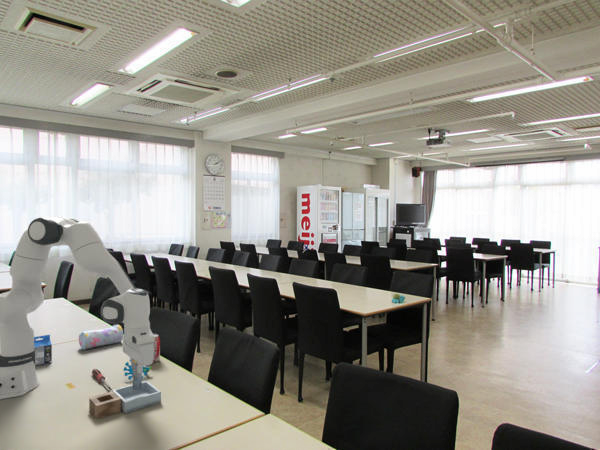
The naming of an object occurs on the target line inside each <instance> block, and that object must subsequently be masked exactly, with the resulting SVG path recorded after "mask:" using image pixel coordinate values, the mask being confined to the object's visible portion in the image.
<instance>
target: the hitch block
mask: <svg viewBox="0 0 600 450" xmlns="http://www.w3.org/2000/svg"><path fill="white" fill-rule="evenodd" d="M88 399H89V400H88V401H89V402H88V403H89V404H88V406H89V407H88V410H89V412H90V413H91V415H92V416H93V417H94V418H95V419H96V420H98V419H101V418H104V417H108V416H110V415H114V414H118V413H121V412H122V410H121V398H119V397H118V396H117V395H116V394H115V393H114V392H112V391H110V392H107V393H102V394H99V395H95V396H91V397H89V398H88Z"/></svg>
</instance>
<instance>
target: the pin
mask: <svg viewBox="0 0 600 450" xmlns="http://www.w3.org/2000/svg"><path fill="white" fill-rule="evenodd" d="M137 365H138V364H137V362H136V361H135V360H134V359H133V377H132V385H133V390H139V389H141V382H142V379H141V373H137V372H136V368H137Z"/></svg>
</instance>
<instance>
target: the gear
mask: <svg viewBox="0 0 600 450" xmlns="http://www.w3.org/2000/svg"><path fill="white" fill-rule="evenodd" d="M129 362H130V364H129ZM129 362H128V361H127V362H125V363H124V364H125V366H124V368H123V372H124V376H125V377H127V376H128V375H129V376H128V377H127V379H128V380H132V379H133V369H132V364H131V360H130V359H129ZM127 367H128V368H127ZM151 370H152V366H151V365H149V366H148V365H146V366H143V371H142V373H141V380H142V379H143V378H144V376H145V377H146V376H147V375H148V373H149V372H150V371H151ZM126 371H127V372H126ZM143 380H144V379H143Z"/></svg>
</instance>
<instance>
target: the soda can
mask: <svg viewBox="0 0 600 450" xmlns="http://www.w3.org/2000/svg"><path fill="white" fill-rule="evenodd" d="M153 335H154V336H155V341H154V342H153V345H154V357H153V362H152V364H153V363H156V362H158V361H159V360H160V357H161V338H160V336H159V334H157V333H153Z"/></svg>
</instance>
